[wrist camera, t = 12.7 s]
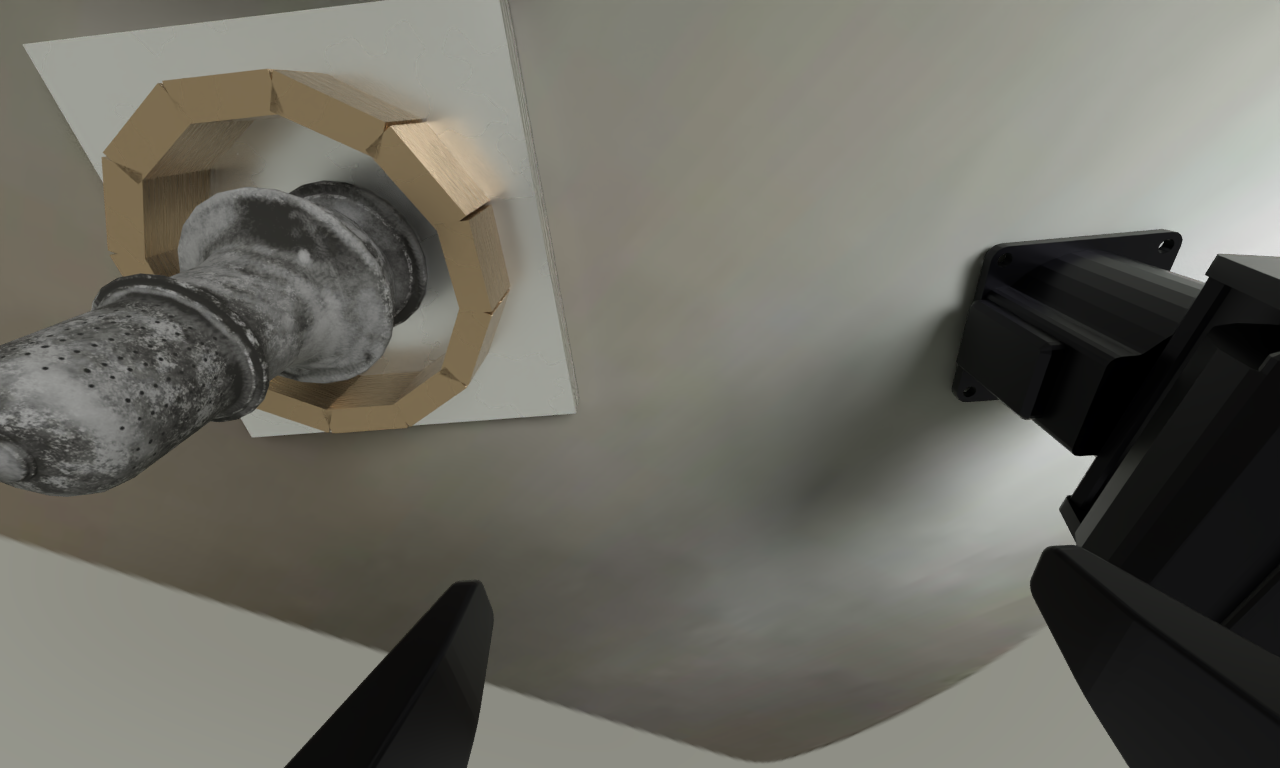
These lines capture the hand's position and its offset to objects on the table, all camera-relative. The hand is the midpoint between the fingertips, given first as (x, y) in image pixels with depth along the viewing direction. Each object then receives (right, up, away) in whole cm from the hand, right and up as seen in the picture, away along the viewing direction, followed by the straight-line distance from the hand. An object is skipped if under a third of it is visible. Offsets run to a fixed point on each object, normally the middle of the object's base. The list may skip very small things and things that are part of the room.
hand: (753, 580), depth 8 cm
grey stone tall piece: (-12, +8, +10) cm, 17 cm away
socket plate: (-12, +8, +10) cm, 18 cm away
